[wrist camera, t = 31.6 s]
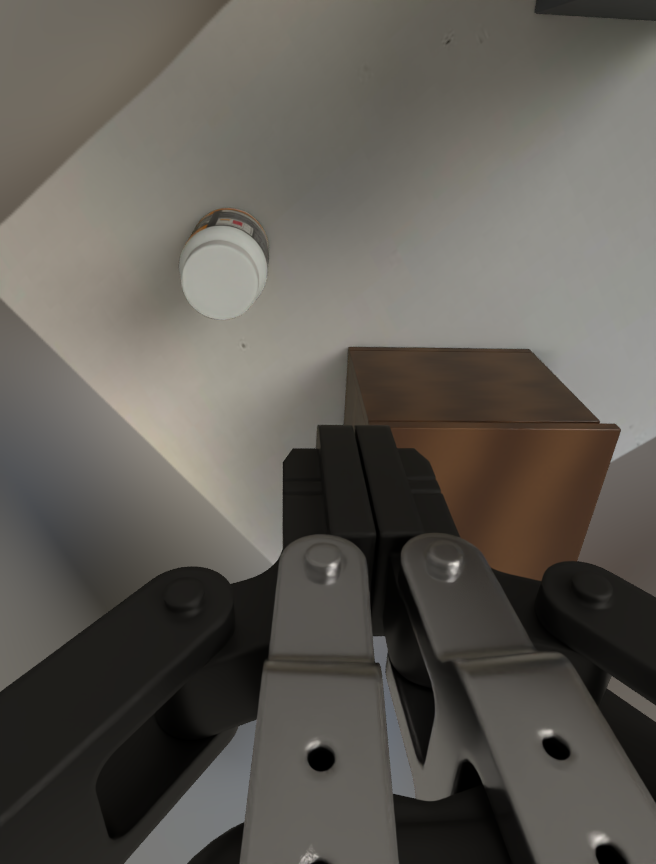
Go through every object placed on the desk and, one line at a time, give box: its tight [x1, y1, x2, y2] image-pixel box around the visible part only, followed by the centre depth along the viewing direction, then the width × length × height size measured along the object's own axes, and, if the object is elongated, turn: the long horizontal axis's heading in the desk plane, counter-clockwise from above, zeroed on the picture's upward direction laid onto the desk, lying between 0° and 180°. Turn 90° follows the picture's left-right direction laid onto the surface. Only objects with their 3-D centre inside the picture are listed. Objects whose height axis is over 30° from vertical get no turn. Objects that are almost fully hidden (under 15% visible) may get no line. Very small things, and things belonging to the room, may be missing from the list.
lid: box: [368, 422, 621, 581], centre depth 41 cm, size 16×14×1 cm
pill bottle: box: [179, 208, 269, 320], centre depth 40 cm, size 6×6×10 cm
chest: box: [344, 347, 600, 427], centre depth 47 cm, size 16×14×13 cm
